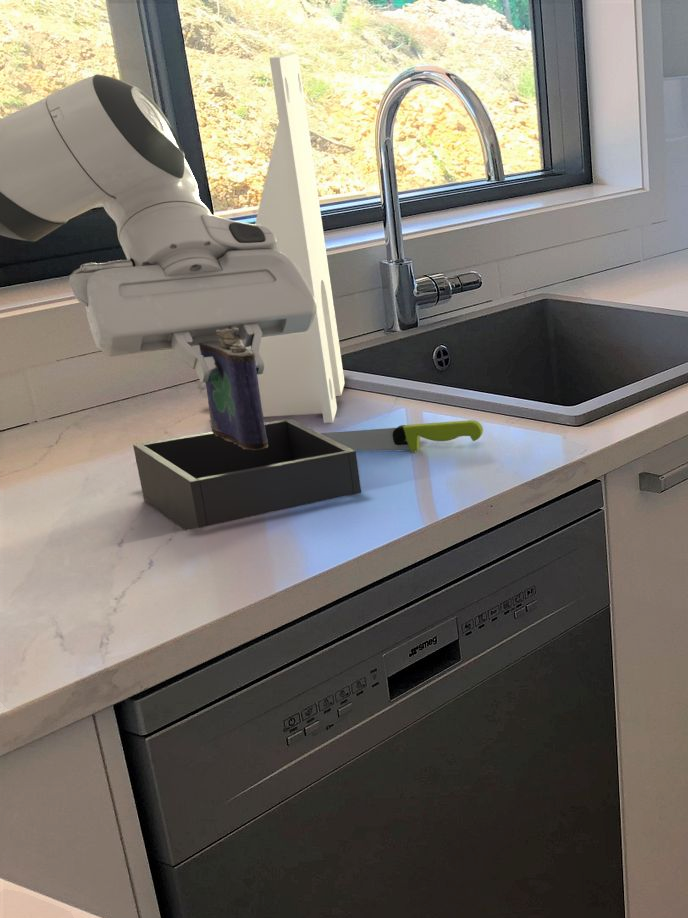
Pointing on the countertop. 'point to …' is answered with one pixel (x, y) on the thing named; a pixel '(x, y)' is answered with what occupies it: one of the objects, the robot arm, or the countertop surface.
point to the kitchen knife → (406, 435)
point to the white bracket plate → (298, 263)
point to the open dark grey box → (243, 474)
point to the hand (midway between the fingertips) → (234, 375)
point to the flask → (235, 393)
